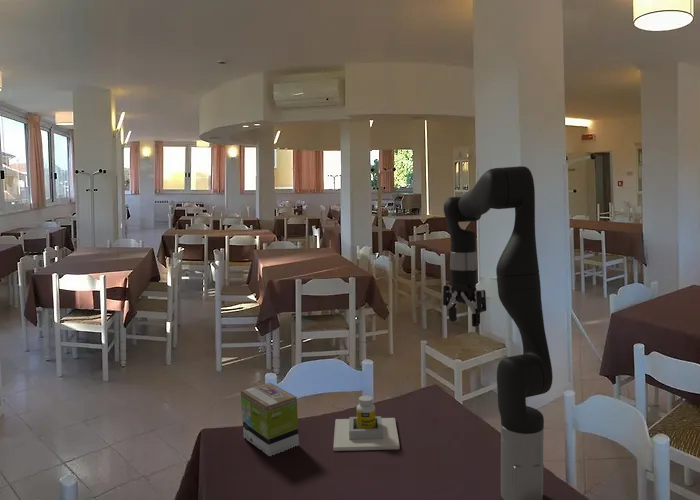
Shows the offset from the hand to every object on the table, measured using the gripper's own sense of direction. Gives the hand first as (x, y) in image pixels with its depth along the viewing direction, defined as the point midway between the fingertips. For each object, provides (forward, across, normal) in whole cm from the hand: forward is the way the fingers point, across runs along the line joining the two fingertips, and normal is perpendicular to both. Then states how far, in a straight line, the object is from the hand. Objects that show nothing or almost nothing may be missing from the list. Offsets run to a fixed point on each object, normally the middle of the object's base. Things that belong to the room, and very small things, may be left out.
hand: (464, 323), depth 160 cm
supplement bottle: (+30, -16, -25) cm, 42 cm away
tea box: (+32, -29, -48) cm, 65 cm away
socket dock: (+31, -15, -25) cm, 43 cm away
